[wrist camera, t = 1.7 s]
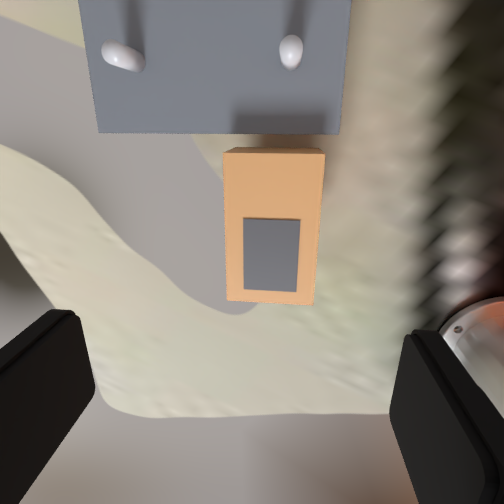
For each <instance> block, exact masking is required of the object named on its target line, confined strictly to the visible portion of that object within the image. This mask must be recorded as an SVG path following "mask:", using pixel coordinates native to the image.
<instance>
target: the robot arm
mask: <svg viewBox="0 0 504 504" xmlns="http://www.w3.org/2000/svg"><path fill="white" fill-rule="evenodd" d="M94 392H95V383H94V378H93V374H92V369H91V365H90V360H89V356H88V351H87V347H86V342H85V338H84V334H83V329H82V325H81V320H80V318H79V317H78V316H77V315H75V313H74V312H73V311H71V310H60V309H51V310H49V311H47V312H46V313H45V314H44V315H42V316H41V317H40V318H39V319H38V320H36V321H35V322H34V323H32V324H31V325H30V326H29V327H27V328H26V329H25V330H24V331H22V332H21V333H20V334H19V335H17V336H16V337H15V338H14V339H12V340H11V341H10V342H9V343H7V344H6V345H5V346H4V347H2V348H1V349H0V504H19V502H20V501H21V499H22V498H23V497H24V495H25V494H26V492H27V491H28V490H29V488H30V487H31V485H32V484H33V482H34V481H35V480H36V478H37V476H38V475H39V474H40V472H41V471H42V470H43V468H44V467H45V465H46V464H47V462H48V461H49V459H50V458H51V457H52V455H53V454H54V452H55V451H56V449H57V448H58V447H59V445H60V444H61V442H62V441H63V439H64V438H65V437H66V435H67V434H68V432H69V431H70V429H71V428H72V426H73V425H74V423H75V422H76V421H77V419H78V418H79V416H80V415H81V414H82V412H83V411H84V409H85V408H86V407H87V405H88V403H89V402H90V401H91V399H92V398H93V395H94ZM389 414H390V421H391V424H392V427H393V430H394V433H395V436H396V439H397V442H398V445H399V447H400V450H401V453H402V456H403V459H404V462H405V465H406V468H407V471H408V473H409V476H410V479H411V482H412V485H413V488H414V491H415V494H416V497H417V499H418V502H419V504H504V297H495V298H491V299H486V300H483V301H480V302H477V303H474V304H472V305H470V306H468V307H466V308H464V309H463V310H461V311H459V312H458V313H457V314H455V315H454V316H453V317H451V318H450V319H449V320H448V321H447V322H446V323H445V325H444V326H443V327H442V328H441V330H440V331H439V332H438V331H434V330H416V329H415V330H413V331H412V333H411V335H409V334H407V335H406V336H405V338H404V342H403V347H402V351H401V356H400V361H399V366H398V371H397V375H396V380H395V385H394V390H393V395H392V399H391V404H390V410H389Z"/></svg>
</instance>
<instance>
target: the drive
mask: <svg viewBox="0 0 504 504" xmlns="http://www.w3.org/2000/svg"><path fill="white" fill-rule="evenodd" d="M324 164H325V153H323V152H322V151H321V150H320V149H319V148H257V147H235V148H233V149H231V150H228V151H226V152H224V153H223V176H224V208H225V210H224V211H225V246H226V282H227V300H229V301H246V302H247V301H248V302H264V303H281V304H298V305H313V300H314V288H315V276H316V263H317V251H318V238H319V226H320V214H321V201H322V189H323V176H324Z"/></svg>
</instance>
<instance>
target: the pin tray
mask: <svg viewBox="0 0 504 504" xmlns="http://www.w3.org/2000/svg"><path fill="white" fill-rule="evenodd" d="M78 3H79V9H80V16H81V22H82V28H83V35H84V41H85V48H86V54H87V60H88V67H89V73H90V80H91V86H92V92H93V99H94V105H95V112H96V118H97V124H98V131H99V133H177V134H179V133H180V134H183V133H184V134H335V135H339V129H340V118H341V107H342V97H343V86H344V75H345V65H346V54H347V43H348V32H349V22H350V11H351V0H78Z"/></svg>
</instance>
